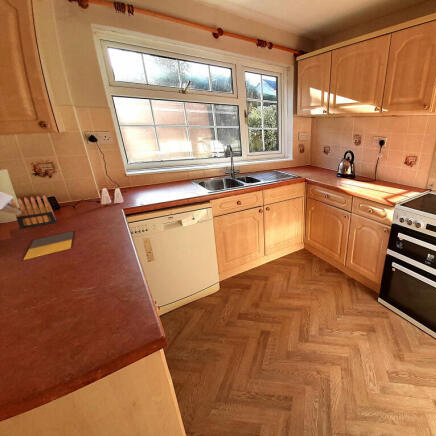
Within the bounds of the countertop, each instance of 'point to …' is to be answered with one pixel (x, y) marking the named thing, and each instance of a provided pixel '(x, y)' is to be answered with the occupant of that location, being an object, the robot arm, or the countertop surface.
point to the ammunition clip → (35, 221)
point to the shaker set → (106, 197)
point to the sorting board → (49, 245)
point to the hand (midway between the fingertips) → (21, 212)
